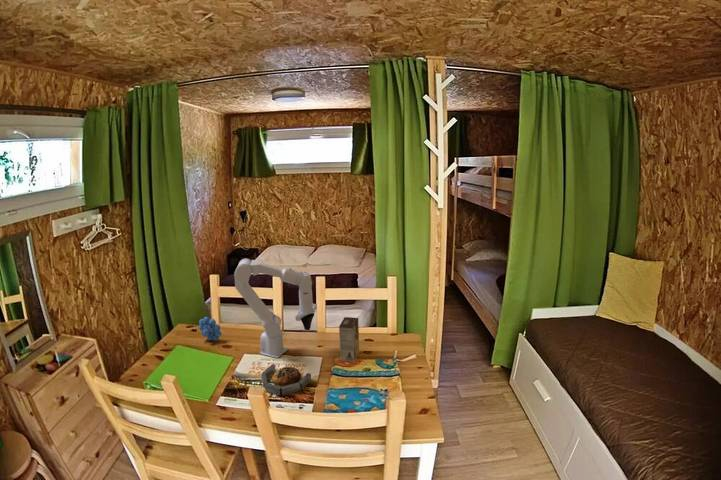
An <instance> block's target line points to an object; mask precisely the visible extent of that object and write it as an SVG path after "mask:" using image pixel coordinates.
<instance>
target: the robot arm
mask: <svg viewBox="0 0 721 480" xmlns="http://www.w3.org/2000/svg"><path fill="white" fill-rule="evenodd" d="M259 274H264V275H268V276H273V277H277V278H279V279H280V280H281V282H284V283H287V284H291V285H293V286H298V288H299V289H298V299H299V300H298V302H299V303H298V305H299V310H298V312H297V314H296V315H295V321H298V322H300V321H301V323H302V325H303V328H304V330H305V331H310V330H311V326H312V322H313V320H314V316H315V312H316V310H317V309H318V307H317V304H316V303H313V289H312V285H313V280H312V276H311V274H310V273H308V272H307V271H296V270H293V269H292V268H291V267H288V268H287V267H285V268H283V269H280V268H278V267H275V266H271V265H269V264H266V263H263V262H260V261H258V260H256V259H252V260H251V259H250V258H243V259H241V260H239V262H238V265H237V267H236V268H235V270H234V273H233V276H234V287H235V290H237V291H238V292H237V293H239V294H240V295H241V297H242V298H243V299H244V301H245V302H246V303H247V304H248V306H249V307H250V308H251V310H252V311H253V312H254V313H255V314H256V315H257V317H258V318H259V320H260V322H261V325H262V327H263V328H264V332H262V333H261V334H260V339H259V342H260V343H259V344H260V352H259V355H262V356H265V357H270V358H271V357H272V358H276V359H278V358H280V357H281V356H282V355H283V354H284V353H285V352H287V351H288V350H289V348H288V347H284V335H283V334H284V333H283V332H284V331H283V330H282V329H281V327H282V319H281V318H280V316H279V315H276V314H275V313H274V312H273V311H271V310H270V309H269V308H268V307H267V305H266V304H265V302H264V301H263V300H262V298H260V297H259V295H258V293H256V291H255V290H254V289H253V287H252V286H251V285H250V283H249V280H250V277H251V276H257V275H259Z"/></svg>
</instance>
